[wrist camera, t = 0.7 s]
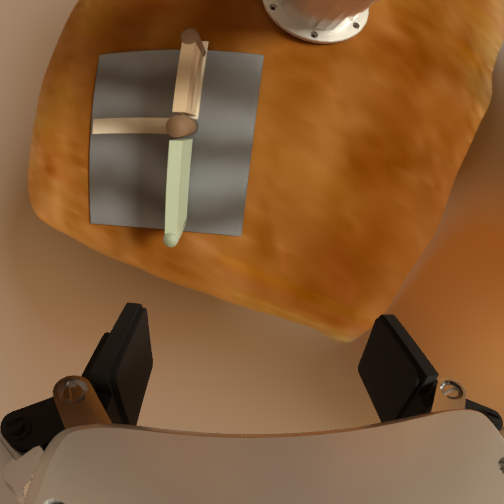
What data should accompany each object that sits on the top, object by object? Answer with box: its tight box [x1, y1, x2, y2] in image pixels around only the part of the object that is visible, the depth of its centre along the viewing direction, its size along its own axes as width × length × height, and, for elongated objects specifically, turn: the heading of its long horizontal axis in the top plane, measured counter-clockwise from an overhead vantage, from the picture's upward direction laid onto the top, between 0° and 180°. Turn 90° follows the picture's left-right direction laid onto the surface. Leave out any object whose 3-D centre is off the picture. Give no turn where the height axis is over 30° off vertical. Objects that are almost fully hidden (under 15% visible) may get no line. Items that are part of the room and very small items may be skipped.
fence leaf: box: [163, 138, 193, 247], centre depth 29 cm, size 10×1×6 cm, turn 173°
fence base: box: [89, 28, 264, 236], centre depth 27 cm, size 22×19×7 cm
